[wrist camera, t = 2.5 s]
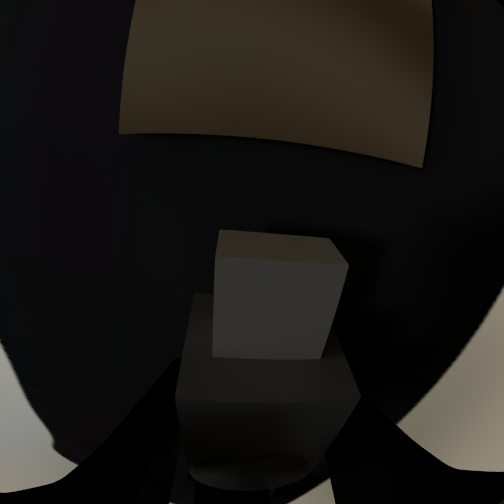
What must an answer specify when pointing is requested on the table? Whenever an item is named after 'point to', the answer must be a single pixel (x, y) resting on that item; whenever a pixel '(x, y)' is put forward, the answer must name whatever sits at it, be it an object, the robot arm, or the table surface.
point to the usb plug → (264, 363)
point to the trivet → (284, 72)
